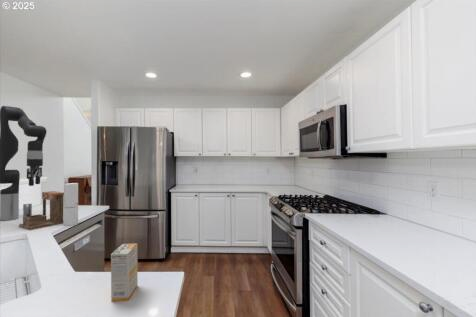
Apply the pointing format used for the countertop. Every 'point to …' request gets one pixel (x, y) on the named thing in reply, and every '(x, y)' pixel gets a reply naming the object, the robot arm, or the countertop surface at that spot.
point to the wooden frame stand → (42, 220)
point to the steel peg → (27, 210)
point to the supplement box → (123, 272)
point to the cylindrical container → (70, 204)
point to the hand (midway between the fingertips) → (34, 184)
